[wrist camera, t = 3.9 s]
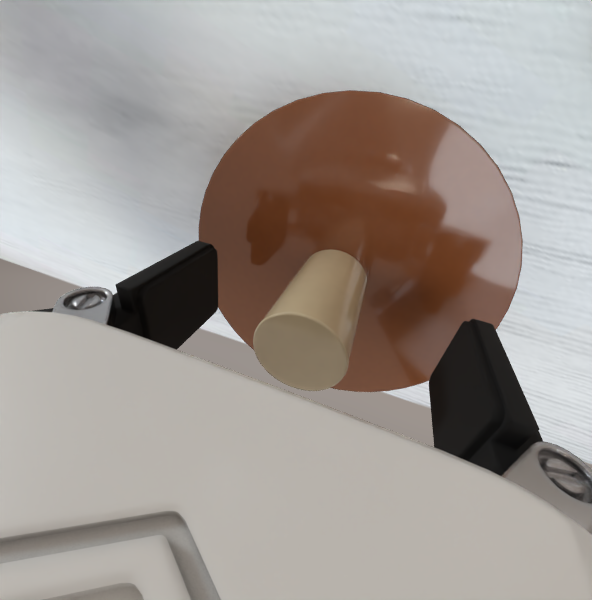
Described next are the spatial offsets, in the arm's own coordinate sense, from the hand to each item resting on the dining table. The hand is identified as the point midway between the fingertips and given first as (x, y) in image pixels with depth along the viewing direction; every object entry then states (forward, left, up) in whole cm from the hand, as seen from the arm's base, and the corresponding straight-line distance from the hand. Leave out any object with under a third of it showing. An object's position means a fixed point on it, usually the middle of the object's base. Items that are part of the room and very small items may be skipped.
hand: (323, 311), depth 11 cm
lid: (0, 0, -3) cm, 3 cm away
